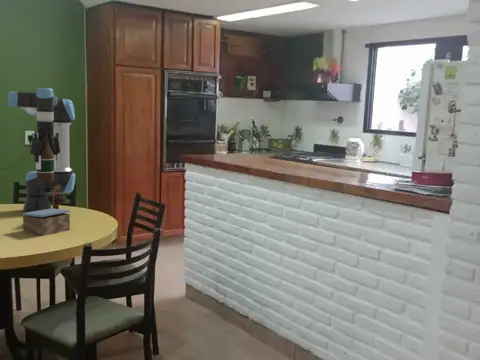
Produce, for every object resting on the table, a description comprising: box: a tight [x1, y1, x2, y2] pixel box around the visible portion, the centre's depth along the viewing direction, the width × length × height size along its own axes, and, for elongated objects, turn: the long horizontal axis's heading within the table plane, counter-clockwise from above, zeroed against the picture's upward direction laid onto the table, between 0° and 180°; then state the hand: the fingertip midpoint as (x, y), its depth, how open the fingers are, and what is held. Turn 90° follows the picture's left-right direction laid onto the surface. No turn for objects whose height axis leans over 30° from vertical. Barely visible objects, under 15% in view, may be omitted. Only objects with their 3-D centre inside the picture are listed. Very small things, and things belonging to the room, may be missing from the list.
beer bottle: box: [36, 132, 54, 182], centre depth 240 cm, size 8×8×24 cm
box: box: [22, 213, 71, 237], centre depth 244 cm, size 16×14×8 cm
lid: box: [22, 207, 71, 217], centre depth 244 cm, size 16×14×1 cm
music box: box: [47, 185, 67, 209], centre depth 263 cm, size 15×11×20 cm
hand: (46, 168), depth 241 cm, fingers closed on beer bottle, 8 cm apart
